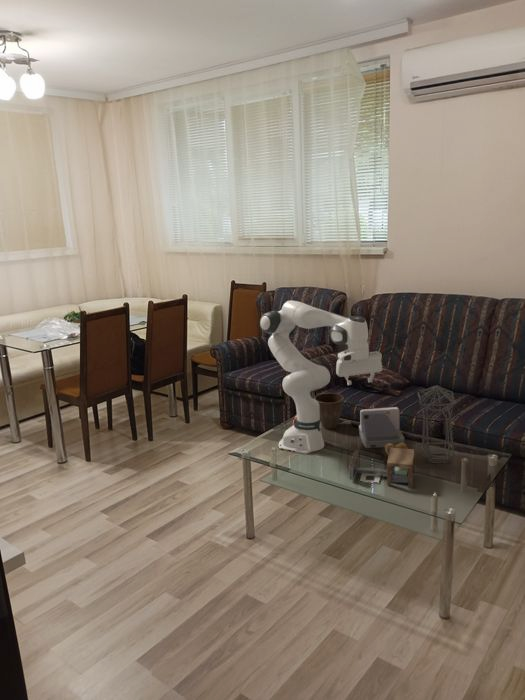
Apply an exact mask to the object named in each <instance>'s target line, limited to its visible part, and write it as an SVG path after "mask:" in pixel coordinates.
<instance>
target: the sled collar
mask: <svg viewBox="0 0 525 700" xmlns="http://www.w3.org/2000/svg"><path fill="white" fill-rule="evenodd" d="M348 465H349V466H348V467H349V481H350V480H352V481H354V479H355V476H356V474H358V473H359V474H362V473H367V474H378V475H381V476H387V469H383V468H374V469H371V467H359V450H354V452H353V453H352V456H351V460H350V462H349V464H348ZM394 470H395V467H392V469H391V483H399V484H408V476H406V475H394Z"/></svg>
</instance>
